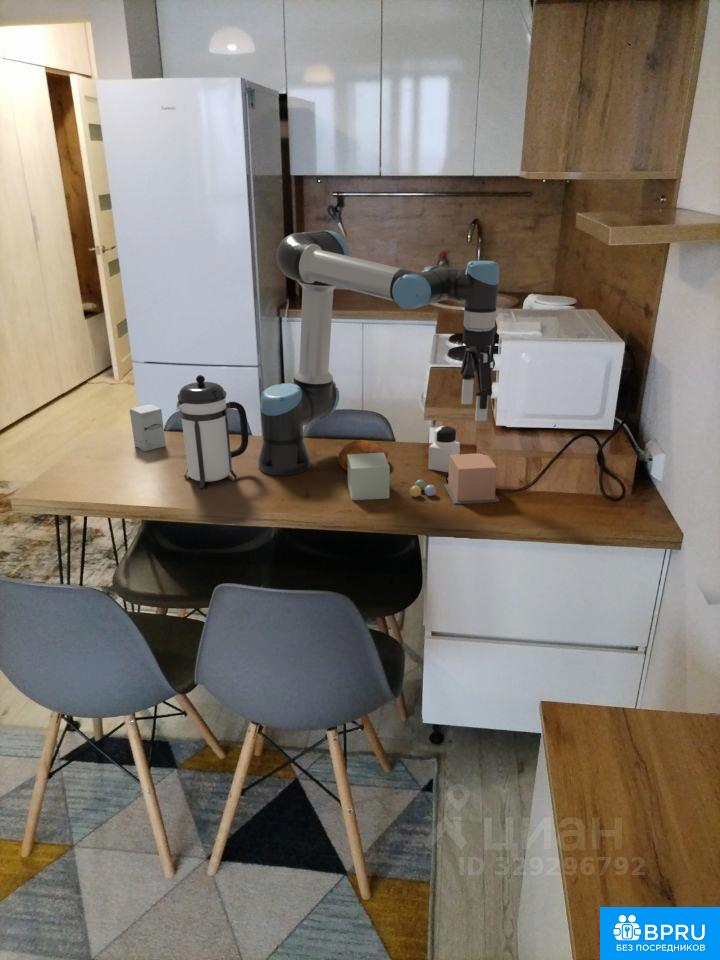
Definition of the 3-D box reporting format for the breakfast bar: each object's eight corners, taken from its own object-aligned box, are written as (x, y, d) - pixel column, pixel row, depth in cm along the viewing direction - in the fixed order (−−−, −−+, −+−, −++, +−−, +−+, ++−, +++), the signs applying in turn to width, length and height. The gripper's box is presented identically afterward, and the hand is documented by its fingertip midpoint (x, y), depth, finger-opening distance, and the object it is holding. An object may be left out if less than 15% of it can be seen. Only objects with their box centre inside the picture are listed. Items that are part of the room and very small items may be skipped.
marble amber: (410, 499, 182) (411, 488, 181) (408, 494, 185) (408, 484, 183) (422, 498, 182) (422, 488, 181) (419, 493, 185) (420, 483, 184)
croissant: (333, 479, 200) (331, 455, 196) (347, 453, 213) (345, 429, 209) (382, 482, 196) (380, 458, 192) (393, 456, 209) (392, 432, 205)
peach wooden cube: (457, 501, 180) (458, 469, 176) (448, 485, 189) (449, 454, 185) (494, 499, 181) (497, 467, 177) (483, 483, 190) (486, 453, 186)
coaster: (454, 504, 179) (454, 503, 178) (443, 485, 190) (443, 484, 189) (499, 501, 180) (499, 500, 180) (486, 483, 191) (486, 481, 191)
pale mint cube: (351, 500, 181) (351, 468, 178) (347, 484, 191) (347, 454, 187) (389, 498, 182) (389, 466, 179) (383, 482, 192) (383, 452, 188)
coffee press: (229, 492, 187) (219, 384, 174) (174, 487, 190) (161, 381, 177) (251, 468, 202) (243, 367, 190) (200, 464, 205) (189, 364, 193)
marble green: (415, 492, 186) (415, 482, 184) (413, 488, 188) (413, 478, 187) (426, 492, 186) (426, 481, 185) (424, 487, 189) (424, 477, 187)
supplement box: (145, 452, 214) (139, 413, 209) (134, 446, 219) (128, 408, 214) (166, 446, 219) (161, 408, 214) (155, 440, 224) (150, 403, 219)
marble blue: (425, 498, 182) (426, 487, 181) (423, 493, 185) (423, 483, 184) (436, 497, 183) (437, 487, 181) (434, 492, 185) (434, 482, 184)
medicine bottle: (459, 464, 203) (461, 426, 198) (451, 473, 197) (453, 433, 193) (436, 461, 206) (437, 422, 201) (427, 469, 200) (429, 430, 195)
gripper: (510, 338, 156) (502, 427, 165) (480, 317, 179) (474, 396, 188) (478, 339, 156) (472, 428, 164) (451, 318, 178) (447, 397, 187)
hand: (473, 411), depth 176 cm, fingers open, 13 cm apart
